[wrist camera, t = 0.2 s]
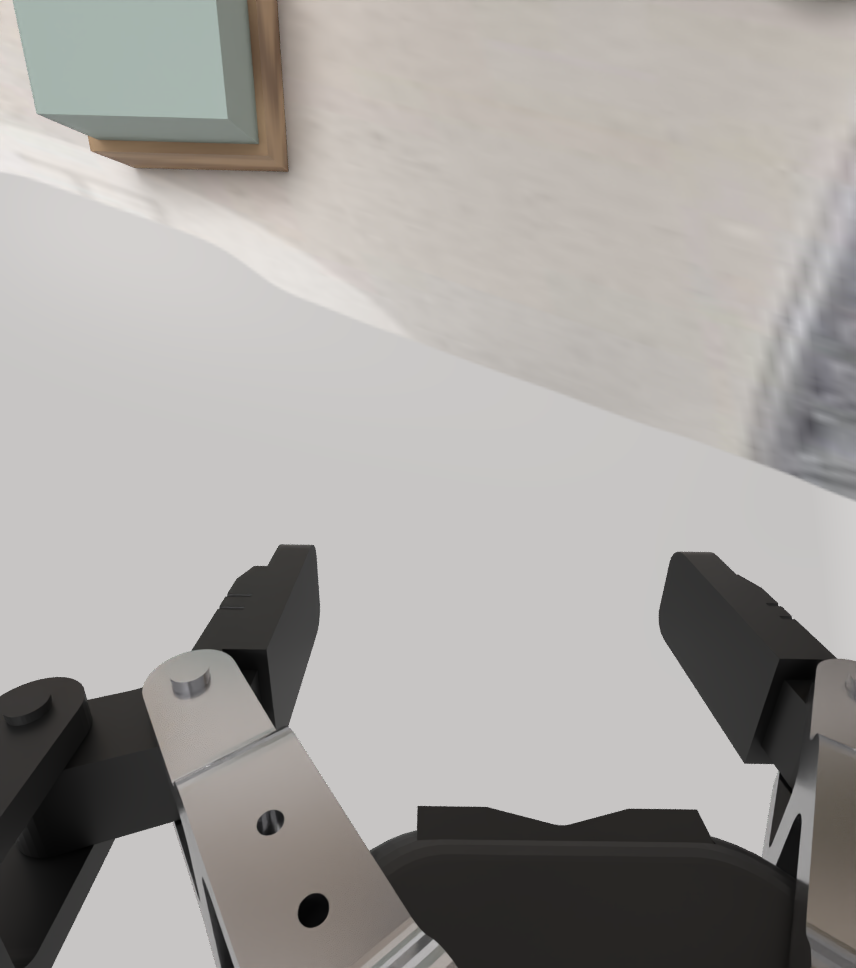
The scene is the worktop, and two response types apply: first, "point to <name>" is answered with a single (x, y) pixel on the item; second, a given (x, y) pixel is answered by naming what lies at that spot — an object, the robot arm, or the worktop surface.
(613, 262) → the worktop surface
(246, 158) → the tower base
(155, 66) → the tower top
